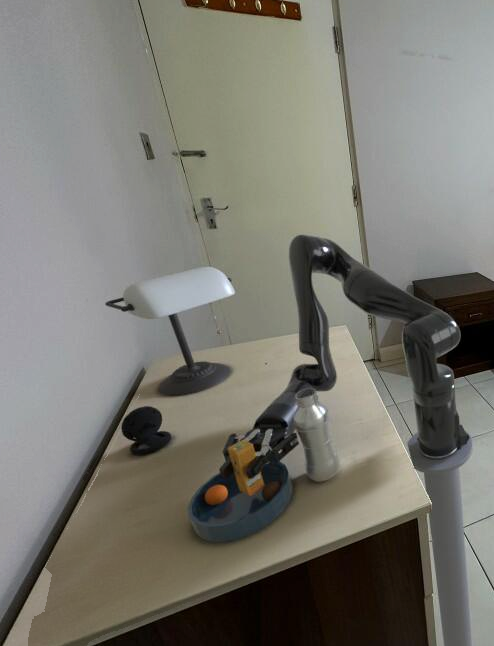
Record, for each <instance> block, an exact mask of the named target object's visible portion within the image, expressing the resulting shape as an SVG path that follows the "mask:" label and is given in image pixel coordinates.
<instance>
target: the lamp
mask: <svg viewBox="0 0 494 646" xmlns="http://www.w3.org/2000/svg"><path fill="white" fill-rule="evenodd" d="M235 294H236V290H235V288H234V287H233V285H232V278H231V277H227V276H226V275H225V273H224V272H222V271H220V270H219V269H217V268H216V267H213V266H201V267H196V268H192V269H189V270H184V271H180V272H175V273H172V274H166V275H163V276H159V277H154V278H151V279H146V280H143V281H139V282H136V283H133V284H130V285H128V286H126V288H125V289H124V290H123V293H122V297H119V298H115V299H111V300H108V301H106V302H105V306H106V307H109V308H113V309H117V310H119V311H121V312H122V313H126V312H127V313H128V314H130V315H132V316H136V317H138V318H141V319H145V320H155V319H162V318H164V317H168V319H169V321H170V324H171V328H172V330H173V333H174V335H175V338H176V341H177V343H178V346H179V349H180V351H181V354H182V357H183V359H184V362H185V364H184V365H182V366H180V367H178V368H177V369H175V370H174V371H173V372H172V373H171V374H170V375H169V376H167V377H166V378H165V379H164V380H163V381H161V383H160V385H158V392H159V393H160V394H161V395H163V396H168V397H169V396H170V397H178V396H185V395H190V394H191V395H192V394H195V393H198V392H201V391H205V390H207V389H210V388H212V387H214V386H216V385H218V384H220V383H221V382H224V381H225V379H227V378H228V377H229V375H230V374H231V368H230V367H229V366H228V365H226V364H222V363H218V362H209V361H196V362H195V361H194V358H193V355H192V352H191V350H190V347H189V343H188V342H187V339H186V336H185V333H184V330H183V328H182V324H181V322H180V319H179V317H178V313H181V312H184V311H187V310H191V309H195V308H197V307H200V306H204V305H207V304H209V306H210V309H211V312H212V315H213V318H214V322H215V325H216V328H217V331H216V333H217V334H218V335H220V334H222V333H223V332H222V330H221V329H220V327H219V324H218V322H217V321H218V320H217V317H216V314H215V312H214V309H213V306H212V303H213V302H217V301H219V300H222V299H226V298H229V297H231V296H234V295H235ZM122 302H124V305H119V304H117V303H122Z"/></svg>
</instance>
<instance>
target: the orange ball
mask: <svg viewBox="0 0 494 646" xmlns="http://www.w3.org/2000/svg"><path fill="white" fill-rule="evenodd" d="M227 495H228V491H227V488H226V487H225V486H223V485H215V486H212V487H211V488H209V489H208V490H207V492H206V494H205V501H206V502H207V503H208V504H209V505H218V504H221V503H222V502H223V501H224V500H225V499H226V498H227Z"/></svg>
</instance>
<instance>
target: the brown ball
mask: <svg viewBox="0 0 494 646" xmlns="http://www.w3.org/2000/svg"><path fill="white" fill-rule="evenodd" d="M281 487H282V484H281V483H279V482H276V481H273V482H270V483H268V484H267V485H265V487H264V488H263V490H262V497H263V499H264V500H266V501H268V502H269V501H270V500H271V499H272V498H273V497H274V496H275V495H276V494H277V493H278V492H279V490H280V488H281Z"/></svg>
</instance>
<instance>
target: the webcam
mask: <svg viewBox="0 0 494 646" xmlns="http://www.w3.org/2000/svg"><path fill="white" fill-rule="evenodd" d="M162 423H163V414H162V413H161V411H160V410H159V409H158V408H156V407H154V406H151V405H149V406H148V405H145V406H139V407H137V408H135V409H133V410H132V411H130V412H129V413H128V414H127V415H126V416H125V417H124V419H123V420H122V423H121V426H120V427H121V429H120V430H121V434H122V435H123V437H124V438H125V439H127V440H129V441H132V442H133V443H132V444H131V446H130V448H129V450H130V453H131V454H132V455H135V456H146V455H149V454H153V453H155V452H157V451H159V450H161V449H163V448H164V447H166V446H167V445H168V444H170V442H171V440H172V434H171V433H170V432H169V431H166V430H160V428H161V426H162ZM142 445H147V447H144V448H140V447H141V446H142Z"/></svg>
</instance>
